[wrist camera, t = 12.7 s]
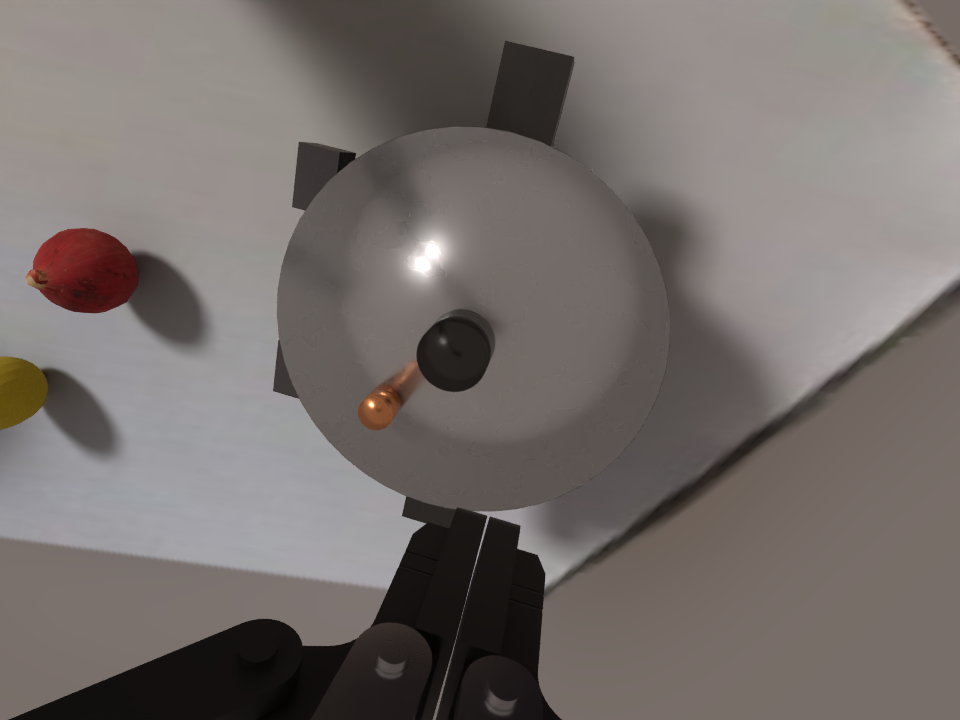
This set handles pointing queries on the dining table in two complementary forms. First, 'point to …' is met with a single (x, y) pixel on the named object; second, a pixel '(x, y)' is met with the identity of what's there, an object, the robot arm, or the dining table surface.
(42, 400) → the lemon
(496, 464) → the cooker lid
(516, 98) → the cooker pot
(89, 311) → the pomegranate
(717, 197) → the dining table surface
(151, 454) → the dining table surface
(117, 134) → the dining table surface
